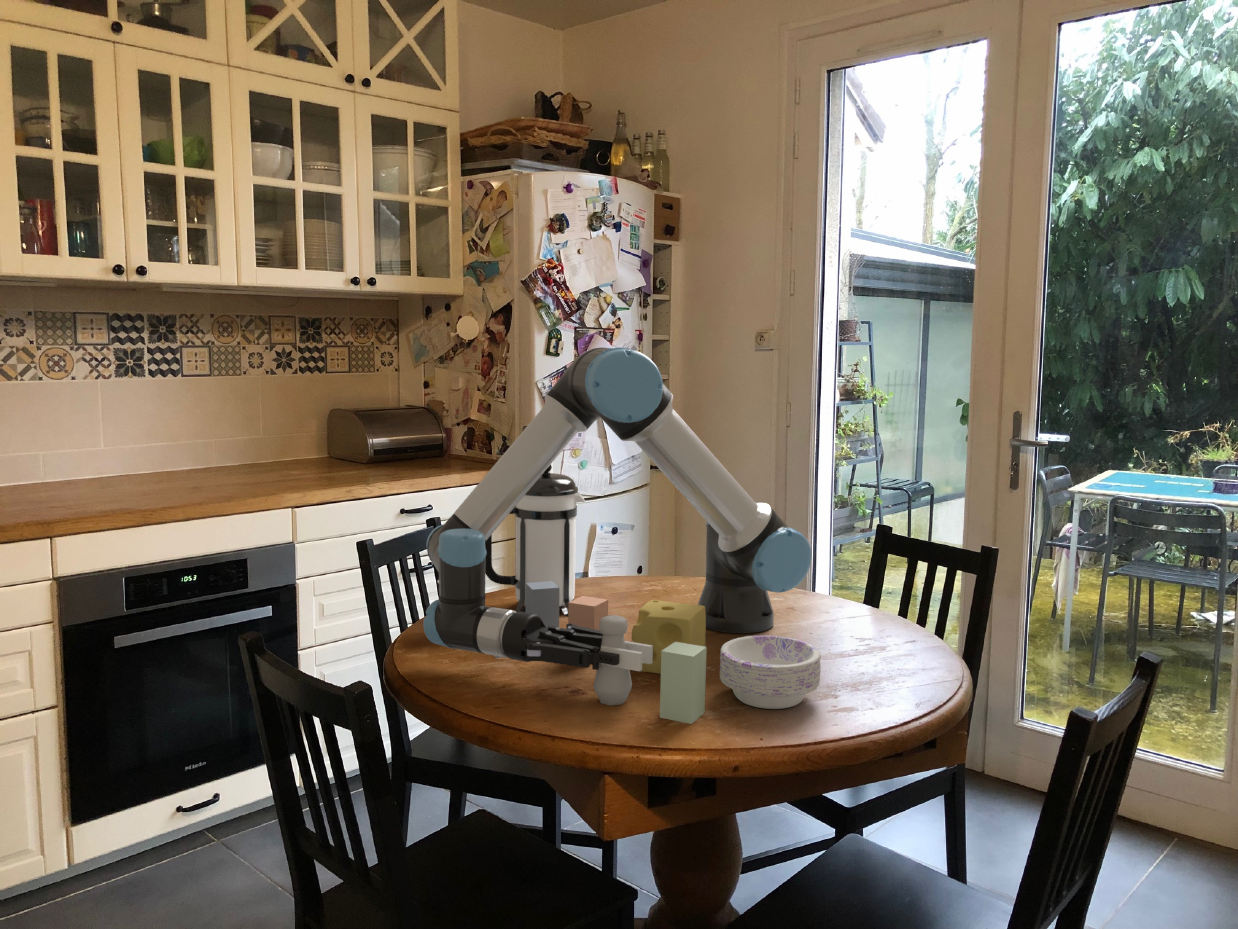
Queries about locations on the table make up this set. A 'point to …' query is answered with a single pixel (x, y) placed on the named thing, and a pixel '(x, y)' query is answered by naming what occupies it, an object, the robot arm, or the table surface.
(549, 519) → the coffee press
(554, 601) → the slate block
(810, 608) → the table surface
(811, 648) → the paper bowls
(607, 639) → the salt shaker
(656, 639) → the cheese
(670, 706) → the sage block
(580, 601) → the terracotta block
